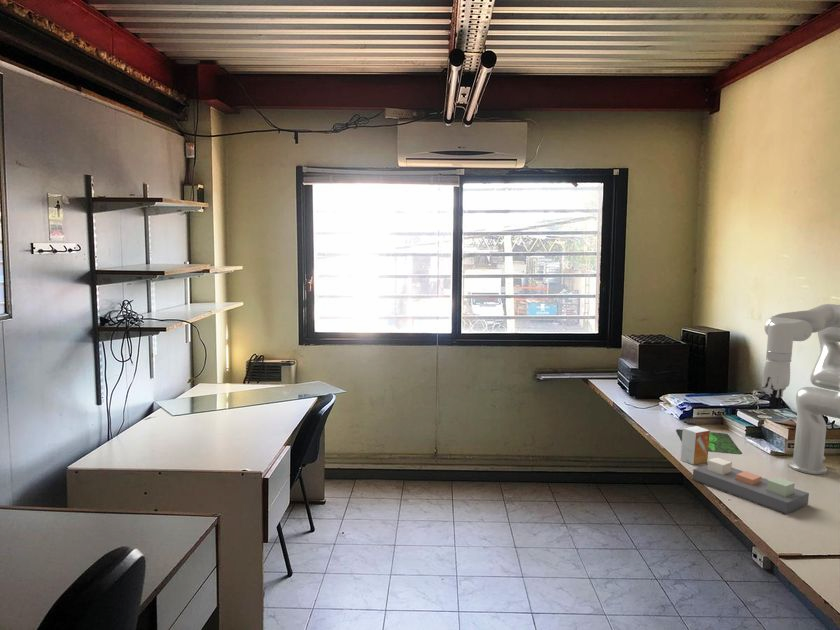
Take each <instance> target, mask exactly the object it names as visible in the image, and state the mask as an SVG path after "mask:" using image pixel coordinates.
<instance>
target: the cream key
mask: <svg viewBox="0 0 840 630" xmlns="http://www.w3.org/2000/svg"><path fill="white" fill-rule="evenodd" d="M707 465H708V466H707V470H709V471H712V472H715V473H718V474H721V475H725V474H727V473H730V472H731V467H732V461H729V460H727V459H723V458H720V457H718V456H717V457H714V458H710V459H707ZM732 468H733V467H732Z"/></svg>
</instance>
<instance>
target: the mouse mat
mask: <svg viewBox="0 0 840 630" xmlns="http://www.w3.org/2000/svg"><path fill="white" fill-rule="evenodd" d="M675 432H676V434H677V436H678V437H679V440H680V441H681V442H682V433H683V429H679V428H677V429H675ZM709 452H710V453H721V454H730V455H742V454H743V453H742V451H741V450H740V449H739V447H738V446H737V445H736V443H735V442H734V441H733V439H732V438H731V436H730V435H729V434H728V433H723V432H714V431H710V436H709V448H708V453H709Z"/></svg>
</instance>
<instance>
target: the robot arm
mask: <svg viewBox="0 0 840 630" xmlns="http://www.w3.org/2000/svg"><path fill="white" fill-rule="evenodd" d="M764 332H765V334H766V335H767V343H766V357H765V364H764V368H763V372H762V373H763V374H762V382H761V386H762V388H763V389H766V393H767V394H769V395H768V396H769V403H768V407H769V408H772V409H777V410H779V409H781V408H782V401H783V395H784V391H785V390H786V389H787V388H788V387H789V386H790V382H791V363H792V357H793V343H794V342H805V341H806V340H808V339H810V337H811V336H812V334H813V333H814V334H815V333H816V334H817V336H818V342H819V348H820V351H819V355H818V358H817V360H816V362H815V364H814V367H813V369H812V372H811V374H810V379H809V380H810V383H811V384H812V385H813V386H804V387H801V388H800V389H798V391H797V392H796V395H795V402H796V403H795V405H796V424H795V425H796V427H795V436H794V445H793V446H794V448H793V455H792V459H790V460H788V462H787V465H788V467H789V468H791V469H793V470H795V471H797V472H801V473H805V474H810V475H824V474H827V472H828V468H827V467H826V466H824V464H823V463H824V461H825V460H826V456H825V455H824V454H825V447H826V437H827V436H826V435H827V423H826V420H825V418H824V417H823V416H825V417H829V418H834V419H840V304H831V303H824V304H821V305H818V306H816V307H813V308H810V309H808V310H798V311H791V312H790V311H789V312H782V313H778V314H775V315H772V316H771V317H770V318H768V319H767V321H766V322H765V324H764ZM814 386H815V387H814Z"/></svg>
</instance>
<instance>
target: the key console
mask: <svg viewBox="0 0 840 630" xmlns="http://www.w3.org/2000/svg"><path fill="white" fill-rule="evenodd" d="M707 466H708V464H706V465H703V466H699V467H696V468H693V470H692V481H695V482H697V483H699V484H702V485H706V486H709V487H710V488H713V489H716V490H719V491H721V492H724V493H727V494H730V495H731V496H735V497H738V498H740V499H743V500H745V501H747V502H751V503H754V504H757V505H759V506H762V507H764V508H767V509H770V510H772V511H774V512H777V513H781V514H783V515H788V514H790V513H793V512H795V511H797V510H800V509H802V508H804V507H806V506H808V505H809V495H810V493H809V492H807V491H804V490H801V489H797V488H796V487H794V494H792V495H790V496H787V497H784V496H781V495H778V494H775V493H772V492H769V491H767V487H768V480H769V479H767V478H764V477H762V476H761V483H758V484H756V485H753V486H752V485H749V484H746V483H743V482H741V481H738V480H736V474H739V473H741V472H744V470H740V469H737V468H734V467H731V472H730V473H727V474H725V475H721V474H718V473H715V472H712V471H709V470H707Z"/></svg>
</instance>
